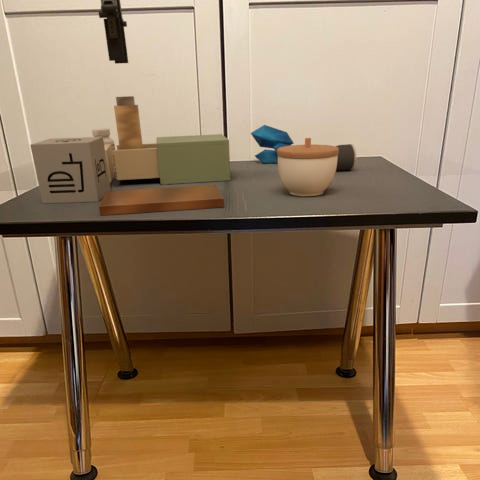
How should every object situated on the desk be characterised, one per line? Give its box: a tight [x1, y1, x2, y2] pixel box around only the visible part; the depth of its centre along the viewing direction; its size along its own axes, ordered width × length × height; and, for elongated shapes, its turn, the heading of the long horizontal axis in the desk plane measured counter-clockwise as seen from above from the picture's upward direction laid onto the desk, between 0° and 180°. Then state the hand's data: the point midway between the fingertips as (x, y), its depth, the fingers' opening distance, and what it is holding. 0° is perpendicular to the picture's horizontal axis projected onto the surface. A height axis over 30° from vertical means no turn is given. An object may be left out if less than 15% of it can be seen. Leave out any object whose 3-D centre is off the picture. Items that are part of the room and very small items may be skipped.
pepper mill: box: [113, 95, 143, 150], centre depth 100 cm, size 5×5×15 cm
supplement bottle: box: [91, 128, 116, 174], centre depth 113 cm, size 5×5×10 cm
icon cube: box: [29, 136, 112, 204], centre depth 89 cm, size 10×10×10 cm
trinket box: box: [277, 137, 339, 197], centre depth 85 cm, size 11×11×9 cm
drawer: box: [104, 142, 160, 184], centre depth 102 cm, size 18×11×6 cm, turn 99°
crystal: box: [250, 124, 295, 165], centre depth 120 cm, size 7×9×12 cm
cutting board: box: [98, 184, 225, 216], centre depth 83 cm, size 20×12×2 cm, turn 99°
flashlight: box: [335, 143, 357, 171], centre depth 106 cm, size 15×5×5 cm, turn 102°
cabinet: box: [155, 133, 231, 186], centre depth 104 cm, size 15×13×8 cm
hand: (119, 62), depth 94 cm, fingers open, 13 cm apart
